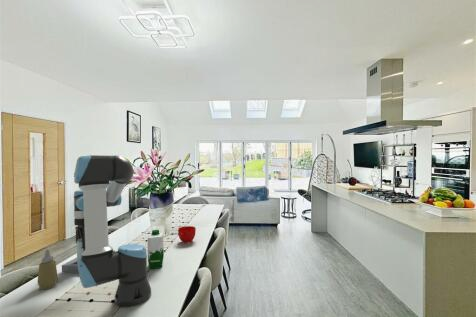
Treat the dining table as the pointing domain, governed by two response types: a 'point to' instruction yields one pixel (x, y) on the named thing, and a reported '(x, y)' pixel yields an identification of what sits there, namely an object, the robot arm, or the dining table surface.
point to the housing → (71, 266)
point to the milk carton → (155, 249)
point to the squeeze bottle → (47, 272)
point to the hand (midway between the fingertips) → (82, 257)
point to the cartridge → (79, 249)
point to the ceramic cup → (186, 233)
